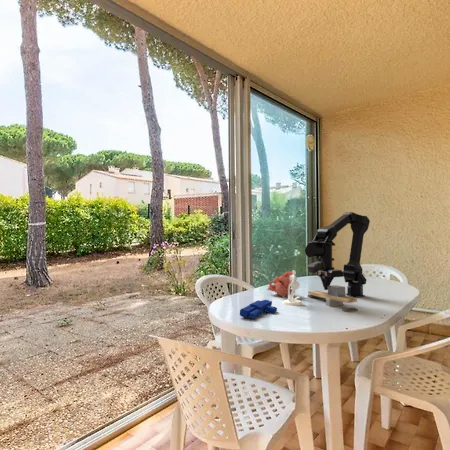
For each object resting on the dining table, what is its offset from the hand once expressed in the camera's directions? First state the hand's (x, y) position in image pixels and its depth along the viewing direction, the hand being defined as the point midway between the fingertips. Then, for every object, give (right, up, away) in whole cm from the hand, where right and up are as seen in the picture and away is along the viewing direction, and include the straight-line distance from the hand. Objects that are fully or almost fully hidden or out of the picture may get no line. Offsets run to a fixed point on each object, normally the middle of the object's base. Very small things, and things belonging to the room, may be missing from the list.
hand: (325, 289), depth 156 cm
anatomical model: (-19, -6, +14) cm, 24 cm away
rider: (+2, -1, -8) cm, 8 cm away
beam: (+1, -3, -4) cm, 5 cm away
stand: (+1, -5, -3) cm, 6 cm away
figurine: (-16, -6, -2) cm, 17 cm away
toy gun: (-32, -7, -18) cm, 37 cm away
